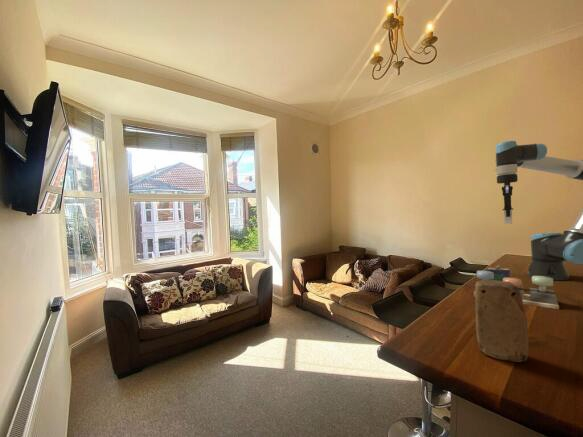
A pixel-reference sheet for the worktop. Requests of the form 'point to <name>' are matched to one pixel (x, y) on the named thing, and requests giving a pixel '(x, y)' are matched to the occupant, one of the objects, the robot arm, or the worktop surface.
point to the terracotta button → (514, 281)
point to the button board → (527, 301)
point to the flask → (499, 273)
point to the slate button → (485, 275)
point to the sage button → (542, 282)
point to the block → (501, 321)
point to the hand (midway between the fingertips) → (508, 223)
